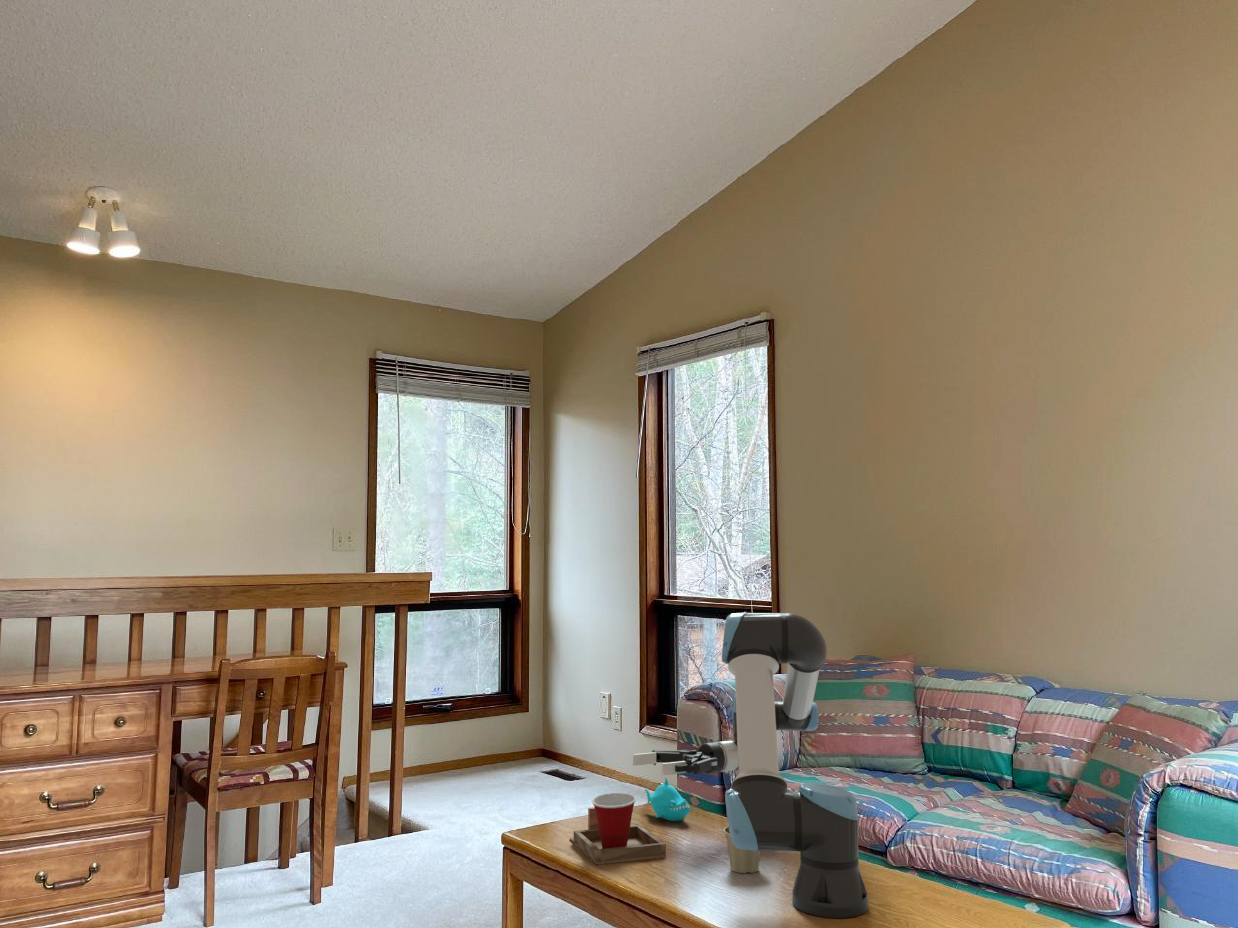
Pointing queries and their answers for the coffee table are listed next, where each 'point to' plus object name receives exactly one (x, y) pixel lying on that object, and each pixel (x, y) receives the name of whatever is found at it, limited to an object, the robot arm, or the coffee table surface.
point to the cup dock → (637, 847)
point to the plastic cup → (614, 818)
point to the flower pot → (741, 857)
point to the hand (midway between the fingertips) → (647, 764)
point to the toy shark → (668, 803)
